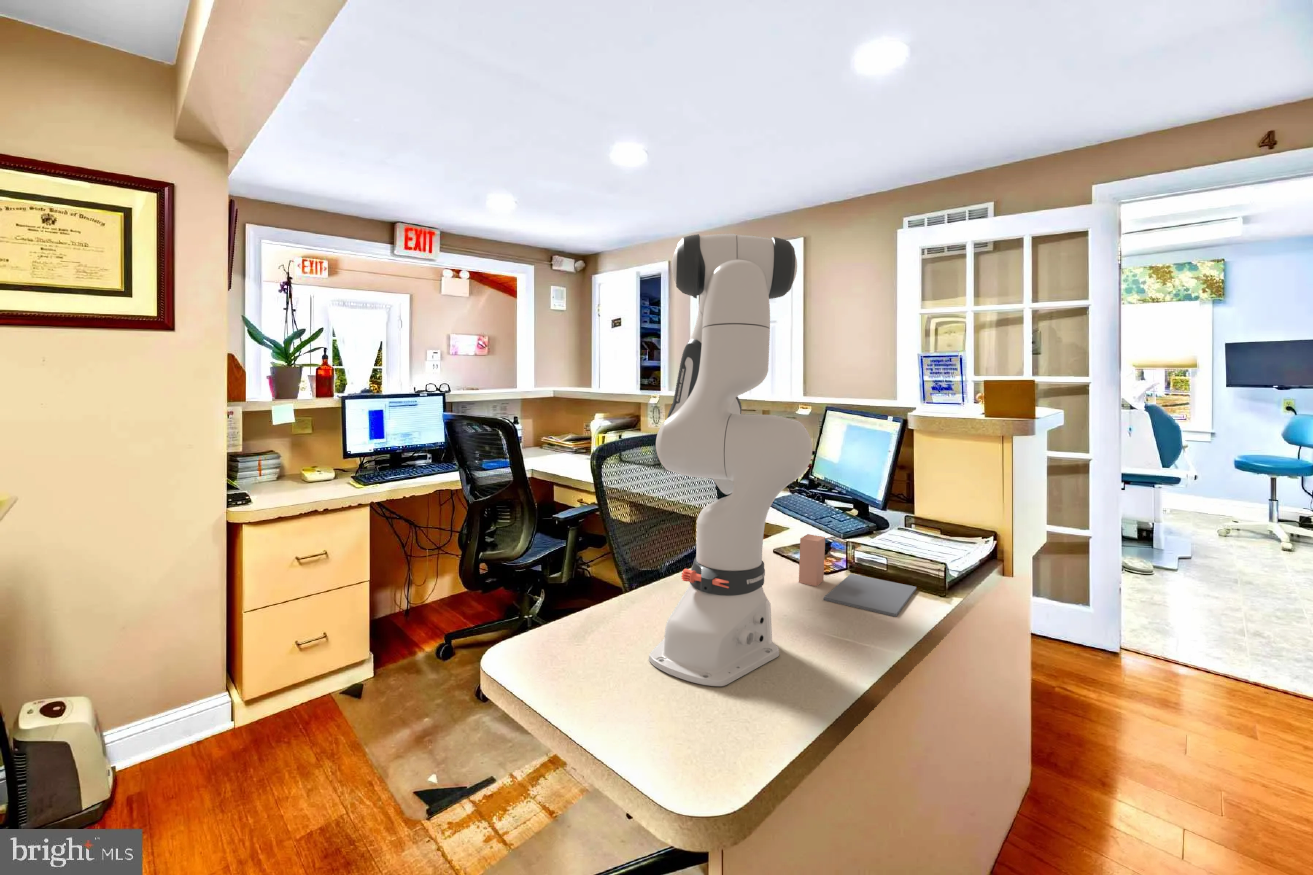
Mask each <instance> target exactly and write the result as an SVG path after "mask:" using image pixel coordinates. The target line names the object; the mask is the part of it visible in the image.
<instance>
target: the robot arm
mask: <svg viewBox="0 0 1313 875" xmlns="http://www.w3.org/2000/svg"><path fill="white" fill-rule="evenodd" d="M796 255H797V254H796V251H795V247H794V246H793V244H792V243H791V242H790V240H787V239H783V238H782V237H781V238H779V237H775V236H772V237H771V238H768V237H763V236H754V235H747V234H744V235H743V234H742V235H741V234H736V233H720V234H719V233H718V234H717V233H716V234H705V235H700V234H692V235H688V236H684V237H682V238H681V239H680V240H679V241H678V243H677V246H676V248H675V250H674V252H673V255H672V257H671V258H672V259H671V275H672V278H673V281H674V282H675V286H676V288H677V289H678V290H679V291H680V292H681V293H682V294H685V295H687V296H690V297H692V298H694V299H697V298H698V296H699V301H698V302H699V303H698V315H697V319H696V322H695V325H694V328H693V331H692V334H691V336H690V338H689V340H688V341H687V342H686V345H685V347H684V348H683V352H682V355H681V360H680V363H679V368H678V373H677V380H676V384H675V390H674V391H675V392H674V397H673V401H672V404H671V406H670V408H669V411H668V414H667V417H666V419H665V421H664V422H663V423H661V425H660V427H659V429H658V431H657V434H656V439H655V450H656V454H657V457H658V460H659V462H660V463H661V465H662V466H663V468H665V470H666V471H669V472H672V473H676V474H679V475H683V476H687V477H691V478H700V479H702V478H703V479H712V480H713V482H714V483H715V485H716V486H717V487H718V489H719V490H720V492H722V493H723V494H724V495H727V496H724V497H721V498H719V499H717V500H714V501H712V502H711V503H709V504H707V505H706V506H704V507H703V508H702V510H700V512H699V514H698V516H697V519H696V545H695V546H696V554H695V557H694V559H693V564H692V566H691V569H688V568H684V569H683V570H682V573H681V580H682V581H683V582H689V585H688V587H687V588H686V590H685V592H684V594H683V595H682V597H681V598H680V600H679V601H678V603H677V604H676V606H675V607H674V609H673V611H672V613H671V614H670V615H669V617H668V618H667V622H666V624H665V631H664V638H663V639H662V640H661V641H660V642H659V643H658V644H657V645H656V646H655V647H654V648H653V649H652V650H651V651H650V652H649V655H648V661H649V662H650V664H652V665H653V666H654V667H655V668H657V669H658V670H661V671H662V672H664V673H666V674H668V675H670V676H674V677H676V678H678V679H681V680H684V681H687V682H689V683H690V682H691V683H694V684H698V685H703V686H709V687H710V686H711V687H725V686H727V685H729V684H731V683H733V682H734V681H736V680H738V679H739V678H741V677H743V676H745V675H747V674H749V673H751V672H753V671H754V670H756V669H758V668H759V667H761V666H763V665H765V664H767V663H769V662H771V661H773V660H774V659H777V658H778V657H779V656H780V649H779V647H778V646H777V645H776V644H775V643H774V642H773V628H772V626H773V625H772V623H773V622H772V605H771V603H770V600H769V598H768V597H767V596H766V593H765V591H764V588H763V586H764V584H765V576H766V570H765V562H764V560H763V547H764V546H763V544H764V534H765V532H764V531H765V526H766V520H767V516H768V512H769V510H770V508H771V506H772V504H773V503H774V501H775V500H776V498H777V497H778V496H779V494H780V493H781V492H782V491H783V490H784V489H785V488H786V487H787V486H789V485H791V483H793V482H795V481H796V480H798V478H800V477H802V475H803V474H804V473H805V472H806V471H807V469H808V467H809V465H810V462H811V461H812V456H813V442H812V438H811V435H810V434H809V431H808V430H807V429H806V427H805V425H804V424H803V423H802V422H801V421H800V420H796V419H792V418H788V417H784V416H780V415H773V414H749V413H747V414H745V413H742V410H743V408H742V407H743V406H742V402H741V400H740V398H739V396H740V395H743V394H745V393H747V392H749V391H751V390H753V389H755V388H757V387H758V386H759V385H761V384H762V383H763V382H764V381H765V379H766V378H767V375H768V372H769V364H770V363H769V360H770V359H769V356H770V341H771V340H770V338H771V337H770V336H771V330H770V329H771V308H770V300H772V299H777V298H781V297H784V296H785V295H786V294H788V293H789V292H790V290H791V289H792V287H793V283H794V282H795V280H796V277H797V274H798V273H797V272H798V259H797V256H796Z"/></svg>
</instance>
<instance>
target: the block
mask: <svg viewBox="0 0 1313 875" xmlns="http://www.w3.org/2000/svg"><path fill="white" fill-rule="evenodd" d="M825 550H826V536H820V535H816V534H815V535H814V534H809V533H807V534H806V535H804V536H801V537H800V539H799V564H798V583H800V584H804V585H808V586H809V585H810V586H812V587H817V586H819V585H821V583H823V582H824V579H825V578H824V577H825V576H824V575H825V554H826V551H825Z"/></svg>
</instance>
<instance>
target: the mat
mask: <svg viewBox="0 0 1313 875" xmlns="http://www.w3.org/2000/svg"><path fill="white" fill-rule="evenodd" d="M916 591H917V586H913V585H910V584H903V583H899V582H895V581H890V580H885V579H879V578H875V577H870V576H869V577H868V576H865V575H861V574H854V573H850V574H848V575H847V576H846V577H845V578H844V579H843V580H842V581H840V582H839V583H838V584H837V585H835V587H833V588H832V589H831V590H830V591H829V592H828V593H826V594H825V595H824V596H823V601H827V602H830V603H835V604H839V605H845V606H848V607H852V608H857V609H859V610H860V609H861V610H865V611H869V612H874V613H876V614H877V613H878V614H883V615H886V616H890V617H895V618H896V617H898V615H899V614H900V612H901V611H902V610H903V608H904V607H905V606H906V604H907V603H908V602H909V601H910V599H911V597H913V595H914V593H916Z"/></svg>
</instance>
